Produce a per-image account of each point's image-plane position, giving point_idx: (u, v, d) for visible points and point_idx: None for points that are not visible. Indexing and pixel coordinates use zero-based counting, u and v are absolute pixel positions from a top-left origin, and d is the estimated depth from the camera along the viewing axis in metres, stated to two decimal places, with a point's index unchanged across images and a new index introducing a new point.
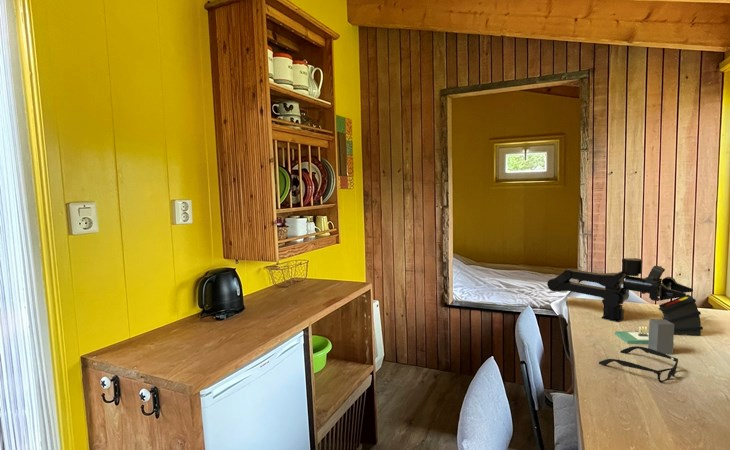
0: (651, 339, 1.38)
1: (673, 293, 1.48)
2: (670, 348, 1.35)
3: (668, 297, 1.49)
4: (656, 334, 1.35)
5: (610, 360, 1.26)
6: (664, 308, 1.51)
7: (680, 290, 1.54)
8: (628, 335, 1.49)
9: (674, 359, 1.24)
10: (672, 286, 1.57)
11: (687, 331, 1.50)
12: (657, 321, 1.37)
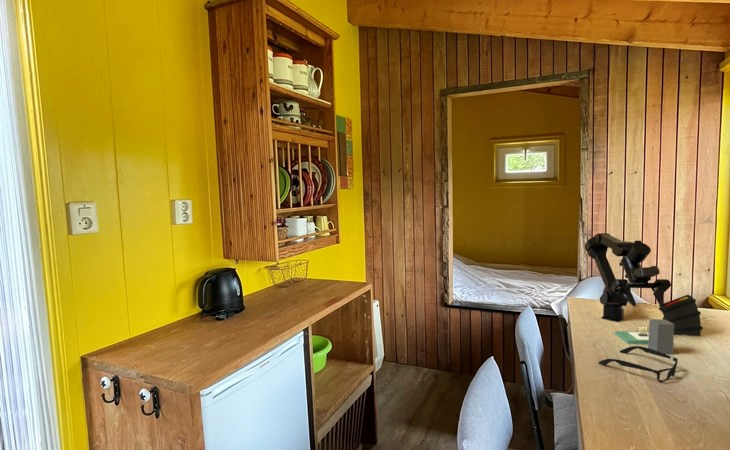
0: (651, 339, 1.38)
1: (628, 297, 1.47)
2: (670, 348, 1.35)
3: (624, 296, 1.49)
4: (656, 334, 1.35)
5: (609, 360, 1.26)
6: (664, 308, 1.51)
7: (657, 298, 1.46)
8: (628, 335, 1.49)
9: (674, 359, 1.24)
10: (656, 290, 1.47)
11: (687, 331, 1.50)
12: (657, 321, 1.37)
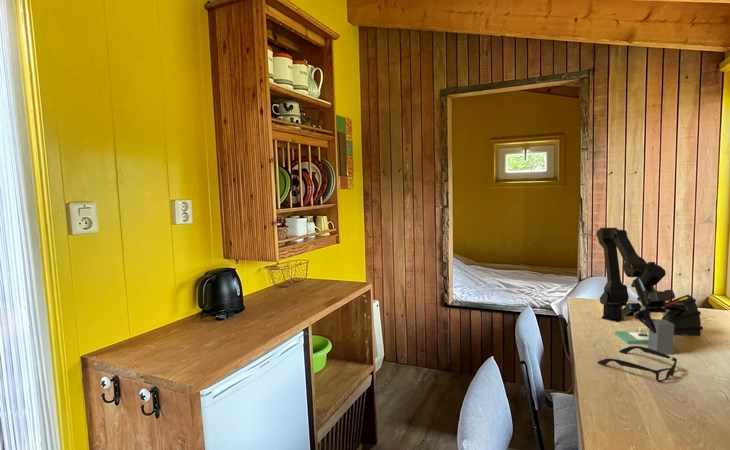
0: (651, 339, 1.38)
1: (647, 323, 1.38)
2: (670, 348, 1.35)
3: (642, 321, 1.40)
4: (656, 334, 1.35)
5: (608, 359, 1.26)
6: None
7: None
8: (628, 335, 1.49)
9: (673, 359, 1.24)
10: (665, 315, 1.39)
11: (687, 331, 1.50)
12: (657, 321, 1.37)
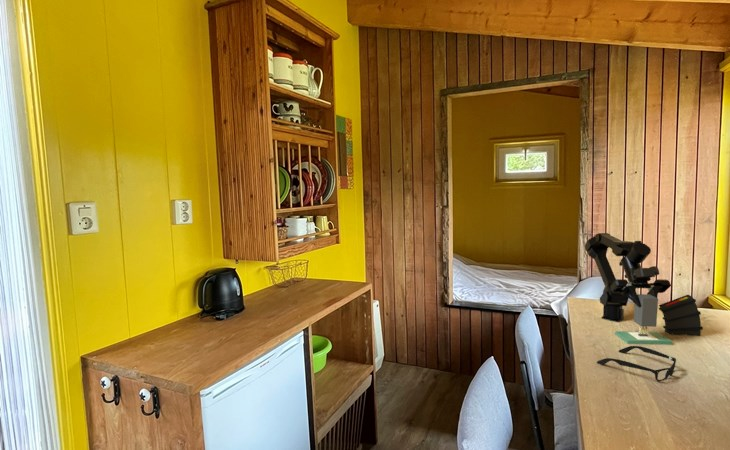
0: (636, 313, 1.47)
1: (633, 297, 1.47)
2: (654, 321, 1.43)
3: (629, 296, 1.49)
4: (641, 308, 1.44)
5: (608, 359, 1.26)
6: (664, 308, 1.51)
7: None
8: (628, 335, 1.49)
9: (672, 359, 1.24)
10: (650, 290, 1.48)
11: (687, 331, 1.50)
12: (642, 296, 1.46)
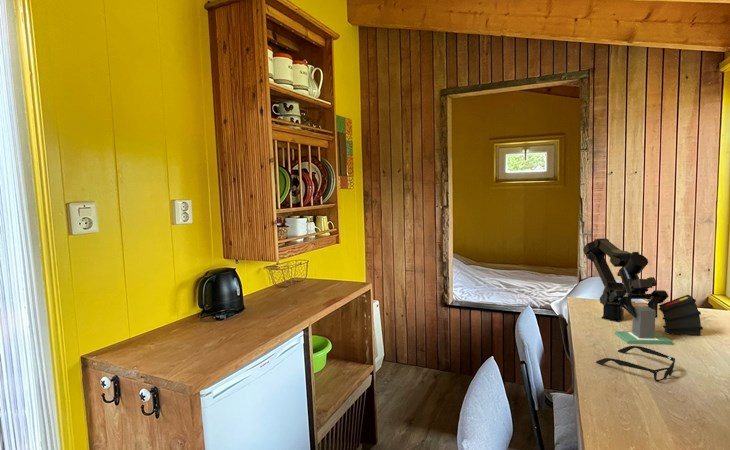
0: (635, 325, 1.48)
1: (629, 308, 1.48)
2: (652, 333, 1.45)
3: (624, 307, 1.50)
4: (639, 320, 1.46)
5: (607, 359, 1.26)
6: (664, 308, 1.51)
7: None
8: (628, 335, 1.49)
9: (671, 359, 1.24)
10: (650, 301, 1.49)
11: (687, 331, 1.50)
12: (640, 308, 1.47)
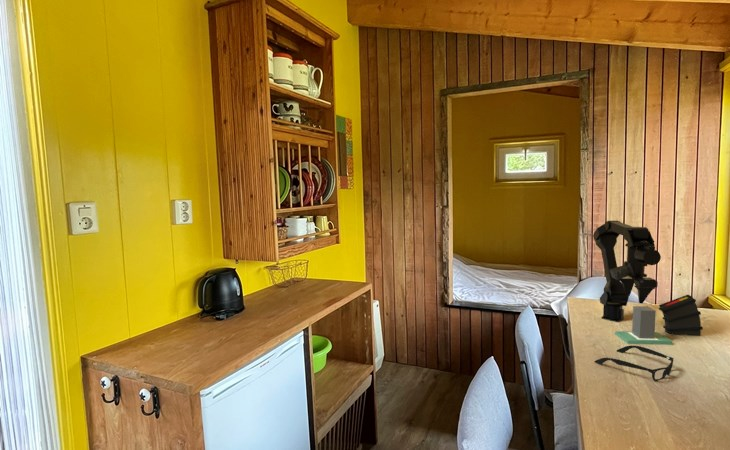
0: (634, 325, 1.48)
1: None
2: (652, 333, 1.45)
3: None
4: (639, 320, 1.46)
5: (605, 358, 1.27)
6: (664, 308, 1.51)
7: None
8: (628, 335, 1.49)
9: (670, 358, 1.25)
10: None
11: (687, 331, 1.50)
12: (640, 308, 1.47)
